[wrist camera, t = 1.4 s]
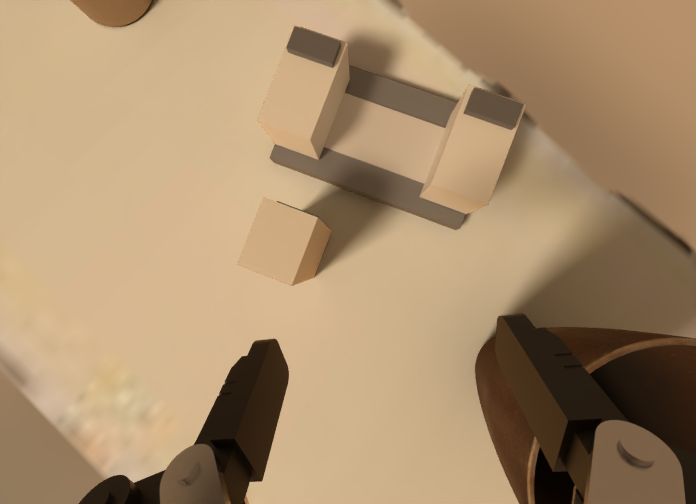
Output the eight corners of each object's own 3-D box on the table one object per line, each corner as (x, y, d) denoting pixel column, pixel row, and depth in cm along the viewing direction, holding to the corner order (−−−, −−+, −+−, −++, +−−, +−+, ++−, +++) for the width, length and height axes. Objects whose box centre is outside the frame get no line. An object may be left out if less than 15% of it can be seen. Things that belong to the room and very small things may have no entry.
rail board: (274, 162, 32) (247, 133, 24) (313, 61, 32) (298, 2, 24) (455, 229, 30) (485, 220, 23) (495, 125, 31) (537, 82, 23)
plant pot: (541, 271, 30) (747, 284, 14) (613, 400, 29) (918, 569, 13) (414, 337, 30) (473, 423, 14) (483, 466, 30) (625, 707, 14)
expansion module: (276, 263, 31) (237, 264, 21) (295, 214, 31) (264, 193, 21) (313, 277, 31) (291, 285, 21) (332, 228, 31) (319, 214, 21)
